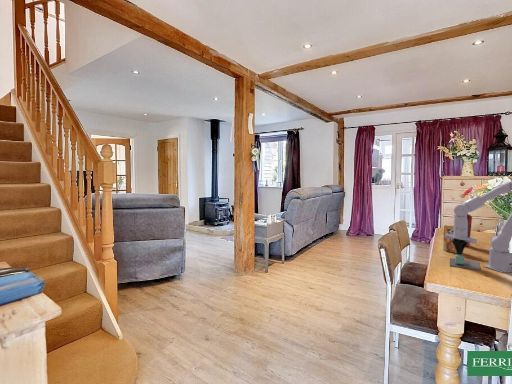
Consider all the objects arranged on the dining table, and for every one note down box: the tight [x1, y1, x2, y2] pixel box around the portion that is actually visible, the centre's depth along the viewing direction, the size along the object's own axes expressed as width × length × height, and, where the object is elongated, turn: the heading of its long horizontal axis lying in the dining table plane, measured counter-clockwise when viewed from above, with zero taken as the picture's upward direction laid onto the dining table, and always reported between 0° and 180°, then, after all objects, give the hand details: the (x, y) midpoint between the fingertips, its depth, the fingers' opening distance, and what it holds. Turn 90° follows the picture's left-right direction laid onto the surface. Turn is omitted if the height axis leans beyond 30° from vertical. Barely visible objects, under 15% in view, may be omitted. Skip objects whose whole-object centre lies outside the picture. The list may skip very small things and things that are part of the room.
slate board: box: [449, 257, 481, 271], centre depth 144 cm, size 14×12×1 cm
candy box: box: [442, 224, 457, 254], centre depth 167 cm, size 9×4×15 cm, turn 33°
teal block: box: [454, 253, 465, 264], centre depth 144 cm, size 4×4×6 cm
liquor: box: [465, 213, 473, 248], centre depth 179 cm, size 7×7×28 cm
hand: (459, 254), depth 146 cm, fingers closed
